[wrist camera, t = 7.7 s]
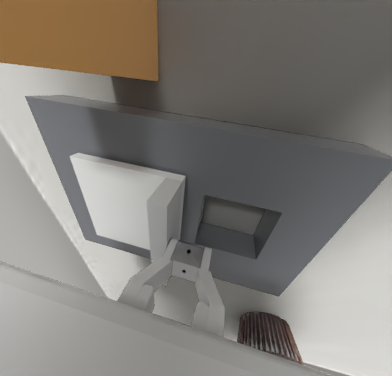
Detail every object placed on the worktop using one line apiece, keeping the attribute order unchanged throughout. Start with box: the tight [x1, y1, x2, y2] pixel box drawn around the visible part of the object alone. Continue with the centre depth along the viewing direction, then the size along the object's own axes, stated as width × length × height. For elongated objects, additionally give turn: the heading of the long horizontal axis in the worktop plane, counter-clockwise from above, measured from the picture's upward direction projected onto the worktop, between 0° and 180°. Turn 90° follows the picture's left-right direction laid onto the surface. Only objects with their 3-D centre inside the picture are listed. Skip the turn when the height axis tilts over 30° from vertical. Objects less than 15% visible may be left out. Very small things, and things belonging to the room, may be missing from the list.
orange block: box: [0, 0, 159, 81], centre depth 7 cm, size 4×4×10 cm
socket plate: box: [25, 95, 392, 297], centre depth 15 cm, size 16×24×3 cm, turn 83°
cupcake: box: [237, 312, 304, 365], centre depth 23 cm, size 10×10×10 cm
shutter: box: [70, 153, 186, 287], centre depth 13 cm, size 9×9×4 cm
